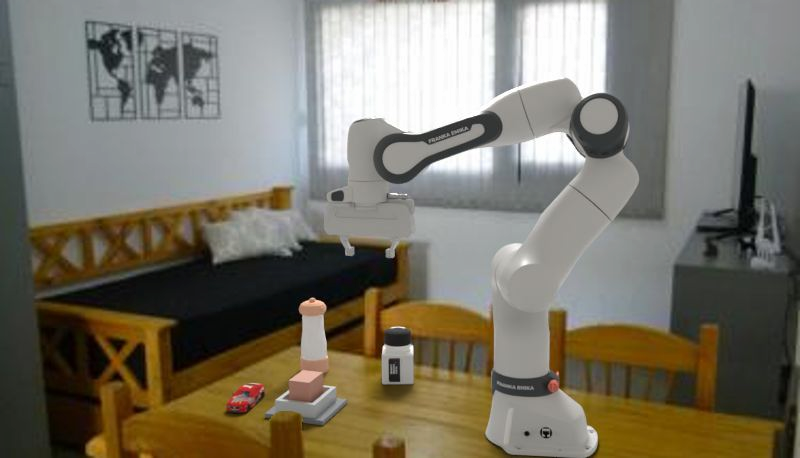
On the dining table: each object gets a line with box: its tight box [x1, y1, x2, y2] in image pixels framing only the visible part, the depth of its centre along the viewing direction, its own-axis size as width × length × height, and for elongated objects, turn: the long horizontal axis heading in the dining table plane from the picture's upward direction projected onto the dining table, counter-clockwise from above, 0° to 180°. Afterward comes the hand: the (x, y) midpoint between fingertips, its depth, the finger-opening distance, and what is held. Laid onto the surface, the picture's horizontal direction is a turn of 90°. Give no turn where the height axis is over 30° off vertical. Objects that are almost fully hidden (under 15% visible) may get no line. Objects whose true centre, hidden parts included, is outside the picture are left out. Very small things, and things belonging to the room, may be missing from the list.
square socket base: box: [264, 384, 348, 426], centre depth 171 cm, size 14×13×4 cm
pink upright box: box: [288, 370, 324, 403], centre depth 171 cm, size 5×7×7 cm
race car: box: [226, 382, 266, 414], centre depth 176 cm, size 13×5×4 cm, turn 166°
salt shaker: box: [298, 297, 329, 374], centre depth 196 cm, size 7×7×19 cm
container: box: [381, 326, 415, 385], centre depth 189 cm, size 8×8×13 cm
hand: (369, 256), depth 166 cm, fingers open, 8 cm apart
